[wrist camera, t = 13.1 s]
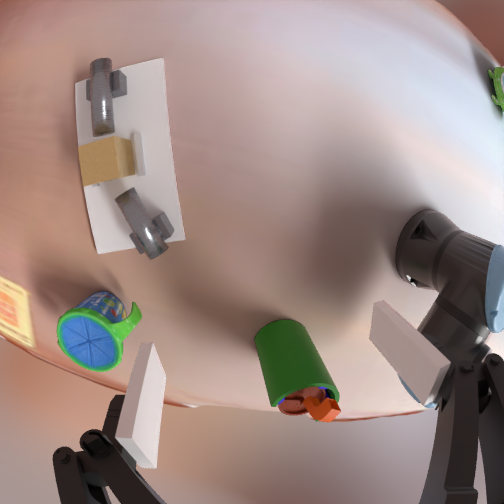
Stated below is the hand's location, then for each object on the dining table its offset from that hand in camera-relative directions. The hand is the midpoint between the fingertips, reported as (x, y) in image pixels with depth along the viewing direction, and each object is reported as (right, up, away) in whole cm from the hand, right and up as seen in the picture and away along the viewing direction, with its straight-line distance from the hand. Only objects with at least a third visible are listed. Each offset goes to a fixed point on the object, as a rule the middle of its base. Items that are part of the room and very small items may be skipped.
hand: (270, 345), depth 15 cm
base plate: (-19, +19, +19) cm, 33 cm away
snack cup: (-25, -4, +26) cm, 37 cm away
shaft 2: (-16, +10, +23) cm, 29 cm away
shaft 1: (-21, +26, +16) cm, 37 cm away
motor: (+4, -10, +33) cm, 35 cm away
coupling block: (-20, +18, +18) cm, 32 cm away
